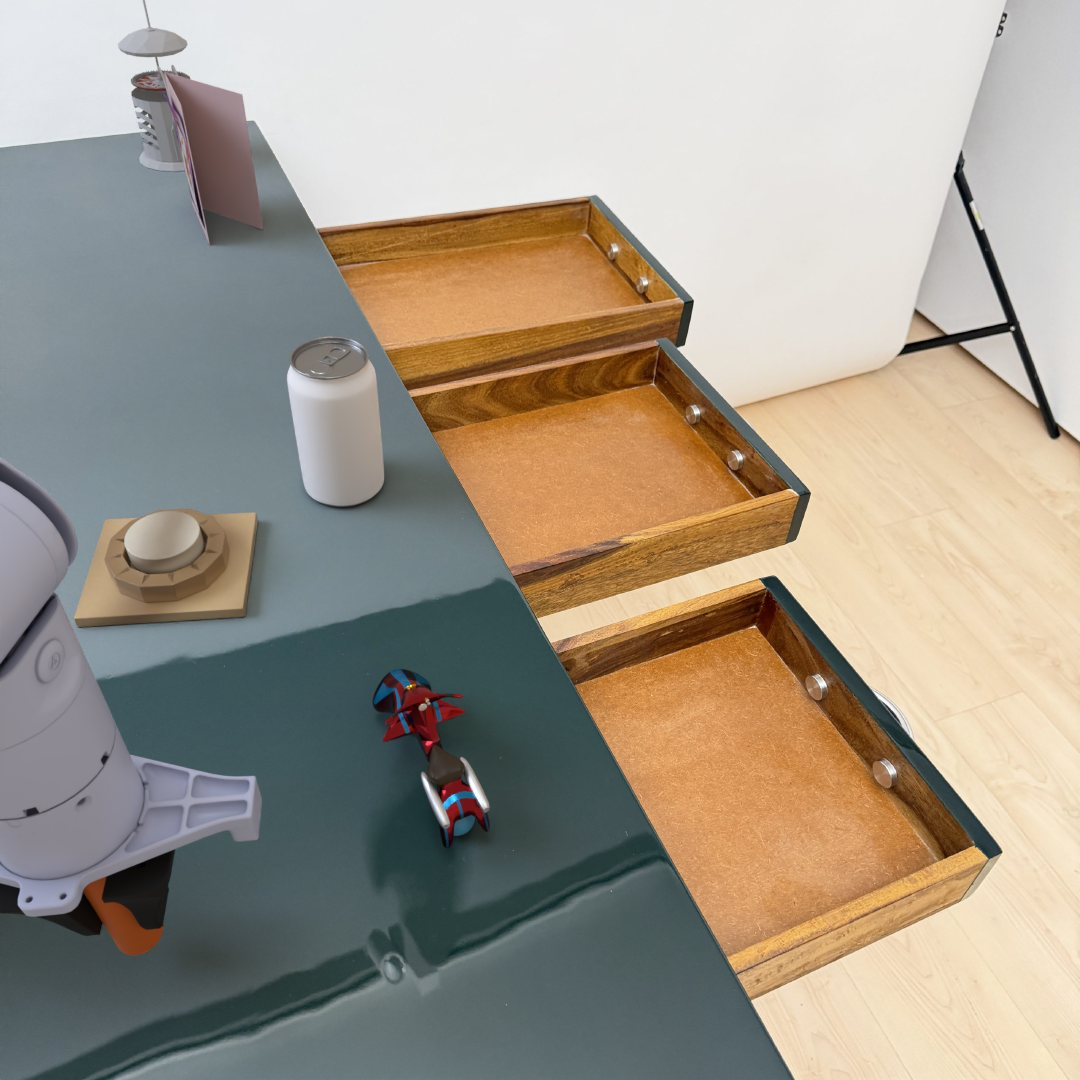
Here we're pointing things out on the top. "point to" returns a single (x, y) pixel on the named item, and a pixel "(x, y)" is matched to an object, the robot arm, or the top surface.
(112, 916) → the marker
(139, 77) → the french press
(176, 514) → the circle pad
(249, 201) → the greeting card
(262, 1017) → the top surface
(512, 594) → the top surface
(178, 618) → the button housing
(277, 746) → the top surface
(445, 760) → the hoverbike
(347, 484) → the can
